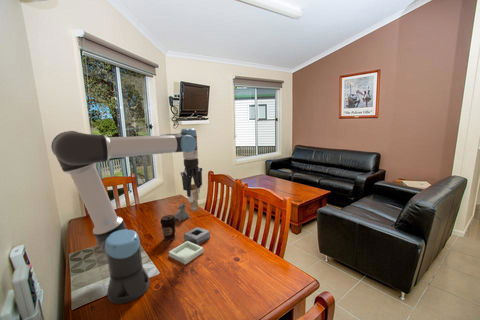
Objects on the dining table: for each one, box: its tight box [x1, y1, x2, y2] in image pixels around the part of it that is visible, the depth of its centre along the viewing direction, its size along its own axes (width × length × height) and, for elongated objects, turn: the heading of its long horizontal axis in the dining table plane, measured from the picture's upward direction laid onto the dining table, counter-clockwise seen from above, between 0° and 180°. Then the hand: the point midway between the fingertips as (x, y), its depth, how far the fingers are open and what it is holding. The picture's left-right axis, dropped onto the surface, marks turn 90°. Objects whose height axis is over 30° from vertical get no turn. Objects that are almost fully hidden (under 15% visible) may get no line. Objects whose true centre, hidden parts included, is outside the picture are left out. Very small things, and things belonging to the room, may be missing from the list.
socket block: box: [183, 226, 211, 246], centre depth 128 cm, size 10×10×4 cm
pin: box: [189, 183, 199, 212], centre depth 124 cm, size 4×4×14 cm
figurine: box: [173, 203, 191, 223], centre depth 156 cm, size 8×10×11 cm
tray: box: [168, 241, 205, 266], centre depth 114 cm, size 12×12×2 cm
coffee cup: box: [159, 214, 177, 242], centre depth 129 cm, size 9×8×13 cm
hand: (194, 200), depth 124 cm, fingers closed on pin, 4 cm apart
